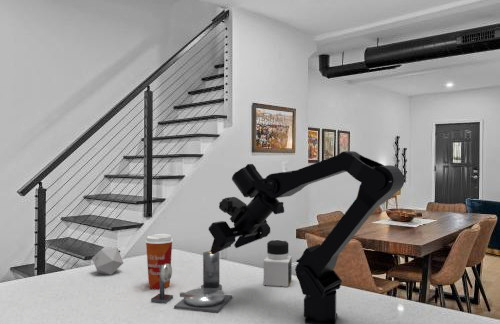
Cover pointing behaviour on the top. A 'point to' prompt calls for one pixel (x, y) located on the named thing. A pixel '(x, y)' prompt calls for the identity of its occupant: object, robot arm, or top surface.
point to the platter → (203, 297)
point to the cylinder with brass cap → (211, 271)
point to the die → (107, 260)
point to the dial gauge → (164, 277)
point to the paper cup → (158, 257)
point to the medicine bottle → (277, 264)
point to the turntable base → (204, 308)
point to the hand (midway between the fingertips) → (223, 249)
